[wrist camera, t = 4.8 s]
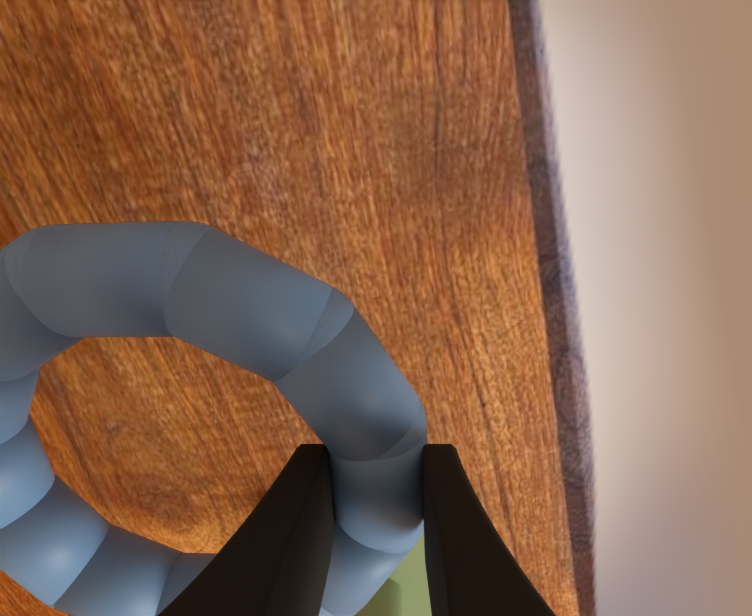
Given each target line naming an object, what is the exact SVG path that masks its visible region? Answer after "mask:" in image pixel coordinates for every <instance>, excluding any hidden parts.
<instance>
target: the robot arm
mask: <svg viewBox="0 0 752 616" xmlns="http://www.w3.org/2000/svg"><path fill="white" fill-rule="evenodd" d="M423 520H424V549H425V565H426V573H427V581H428V589H429V597H430V605H431V613H432V616H556V615H555V614H554V612H553V611H552V610H551V609H550V607H549V606H548V605H547V603H546V602H545V601H544V600H543V598H542V597H541V596H540V594H539V593H538V592H537V590H536V589H535V588H534V586H533V585H532V583H531V582H530V581H529V579H528V578H527V576H526V575H525V574H524V572H523V571H522V569H521V568H520V566H519V565H518V564H517V562H516V561H515V559H514V557H513V556H512V554H511V553H510V551H509V550H508V548H507V547H506V545H505V544H504V542H503V541H502V539H501V537H500V536H499V534H498V532H497V531H496V529H495V528H494V526H493V524H492V522H491V521H490V519H489V517H488V515H487V514H486V512H485V510H484V508H483V507H482V505H481V503H480V501H479V499H478V497H477V496H476V494H475V492H474V490H473V488H472V486H471V484H470V482H469V480H468V477H467V475H466V473H465V471H464V469H463V466H462V464H461V461H460V459H459V456H458V453H457V450H456V448H455V447H454V446H453V445H452V444H425V445H424V447H423ZM334 525H335V511H334V502H333V492H332V483H331V474H330V465H329V455H328V448H327V447H326V446H325V445H324V444H301V445H300V446H299V447H298V448H297V449H296V450H295V452H294V453H293V455H292V456H291V458H290V460H289V461H288V463H287V464H286V466H285V467H284V469H283V470H282V471H281V473H280V474H279V476H278V477H277V479H276V480H275V482H274V483H273V484H272V486H271V487H270V489H269V490H268V491H267V493H266V494H265V495H264V497H263V498H262V499H261V501H260V502H259V503H258V505H257V506H256V507H255V509H254V510H253V511H252V513H251V514H250V515H249V516H248V518H247V519H246V520H245V522H244V523H243V524H242V525H241V526H240V528H239V529H238V530H237V531H236V532H235V534H234V535H233V536H232V537H231V538H230V540H229V541H228V542H227V543H226V544H225V545H224V547H223V548H222V549H221V550H220V551H219V553H218V554H217V555H216V556H215V557H214V558H213V559H212V560H211V562H210V563H209V564H208V565H207V566H206V567H205V568H204V569H203V570H202V571H201V572H200V574H199V575H198V576H197V577H196V578H195V579H194V580H193V581H192V582H191V583H190V584H189V585H188V586H187V587H186V588H185V589H184V590H183V591H182V592H181V593H180V594H179V595H178V596H177V597H176V598H175V599H174V600H173V601H172V602H171V603H170V604H169V605H168V606H167V607H166V608H165V609H164V610H163V611H161V612H160V613H159V614H158V615H157V616H319V613H320V608H321V603H322V599H323V594H324V589H325V584H326V580H327V575H328V570H329V565H330V561H331V553H332V544H333V535H334Z"/></svg>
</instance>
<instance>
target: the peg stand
mask: <svg viewBox="0 0 752 616" xmlns="http://www.w3.org/2000/svg"><path fill="white" fill-rule="evenodd" d="M353 616H432V613H431V605H430V597H429V589H428V581H427V573H426V565H425V549H424V530H423V533H422V535H421V537H420V539H419V540H418V542H417V543H416V545H415V546H414V547H413V548H412V550H411V551H410V552H409V553H408V554H407V556H406V557H405V558H404V559H403V560H402V562H401V563H400V564H399V565H398V566H397V568H396V569H395V570H394V571H393V573H392V574H391V575H390V576H389V577H388V579H387V580H386V581H385V582H384V583H383V585H382V586H381V587H380V588H379V589H378V591H377V592H376V593H375V594H374V596H373V597H372V598H371V599H370V600H369V602H368V603H367V604H366V605H365V606H364V607H363V608H362V609H361V610H360V611H359V612H357V613H356V614H355V615H353Z"/></svg>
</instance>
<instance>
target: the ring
mask: <svg viewBox="0 0 752 616" xmlns="http://www.w3.org/2000/svg"><path fill="white" fill-rule="evenodd" d="M85 337H176V338H178V339H180V340H183V341H185V342H187V343H189V344H191V345H193V346H196V347H198V348H200V349H202V350H204V351H207V352H209V353H211V354H213V355H215V356H217V357H220V358H222V359H224V360H226V361H228V362H230V363H233V364H235V365H237V366H239V367H241V368H244V369H246V370H248V371H250V372H252V373H254V374H257V375H259V376H261V377H263V378H265V379H268V380H270V381H272V382H273V383H274V385H275V386H276V387H277V388H278V389H279V391H280V392H281V393H282V394H283V395H284V397H285V398H286V399H287V400H288V401H289V403H290V404H291V405H292V406H293V407H294V409H295V410H296V411H297V412H298V413H299V415H300V416H301V417H302V418H303V419H304V421H305V422H306V423H307V424H308V426H309V427H310V428H311V429H312V430H313V432H314V433H315V434H316V435H317V436H318V438H319V439H320V440H321V441H322V442H323V444H324V445H325V446H326V447H327V448H328V455H329V465H330V474H331V483H332V492H333V502H334V511H335V525H334V535H333V544H332V553H331V561H330V565H329V570H328V575H327V580H326V584H325V589H324V594H323V599H322V603H321V608H320V613H319V616H353V615H355V614H356V613H357V612H359V611H360V610H361V609H362V608H363V607H364V606H365V605H366V604H367V603H368V602H369V600H370V599H371V598H372V597H373V596H374V594H375V593H376V592H377V591H378V589H379V588H380V587H381V586H382V585H383V583H384V582H385V581H386V580H387V579H388V577H389V576H390V575H391V574H392V573H393V571H394V570H395V569H396V568H397V566H398V565H399V564H400V563H401V562H402V560H403V559H404V558H405V557H406V556H407V554H408V553H409V552H410V551H411V550H412V548H413V547H414V546H415V545H416V543H417V542H418V540H419V539H420V537H421V535H422V533H423V530H424V520H423V447H424V445H425V444H427V419H426V414H425V410H424V407H423V404H422V402H421V400H420V399H419V397H418V395H417V394H416V392H415V391H414V390H413V388H412V387H411V385H410V384H409V383H408V381H407V380H406V378H405V377H404V375H403V374H402V373H401V371H400V370H399V368H398V367H397V366H396V364H395V363H394V361H393V360H392V359H391V357H390V356H389V354H388V353H387V351H386V350H385V349H384V347H383V346H382V344H381V343H380V342H379V340H378V339H377V337H376V336H375V334H374V333H373V332H372V330H371V329H370V327H369V326H368V325H367V323H366V322H365V320H364V319H363V318H362V316H361V315H360V313H359V312H358V310H357V309H356V308H355V306H354V305H353V303H352V302H351V301H350V300H349V299H348V298H347V297H346V295H344V294H343V293H342V292H340V291H339V290H338V289H336V288H334V287H332V286H330V285H328V284H326V283H324V282H322V281H320V280H318V279H316V278H314V277H312V276H310V275H308V274H306V273H304V272H302V271H300V270H298V269H296V268H294V267H292V266H290V265H288V264H286V263H284V262H282V261H280V260H278V259H276V258H274V257H272V256H270V255H268V254H266V253H264V252H262V251H260V250H258V249H256V248H254V247H252V246H250V245H248V244H246V243H244V242H242V241H240V240H238V239H236V238H234V237H232V236H230V235H228V234H226V233H224V232H222V231H220V230H218V229H216V228H214V227H211V226H209V225H206V224H204V223H199V222H193V221H164V222H125V223H87V224H54V225H46V226H42V227H38V228H35V229H32V230H29V231H27V232H25V233H23V234H22V235H20V236H19V237H17V238H15V239H14V240H13V241H12V242H10V243H9V244H8V245H7V246H5V247H4V248H3V249H1V250H0V570H1V571H2V572H4V573H5V574H6V575H8V576H9V577H10V578H11V579H13V580H14V581H15V582H17V583H18V584H19V585H21V586H22V587H23V588H24V589H26V590H27V591H28V592H30V593H31V594H32V595H34V596H35V597H36V598H37V599H39V600H40V601H41V602H43V603H44V604H45V605H47V606H49V607H51V608H53V609H55V610H58V611H61V612H64V613H66V614H69V615H72V616H157V615H158V614H159V613H160V612H161V611H163V610H164V609H165V608H166V607H167V606H168V605H169V604H170V603H171V602H172V601H173V600H174V599H175V598H176V597H177V596H178V595H179V594H180V593H181V592H182V591H183V590H184V589H185V588H186V587H187V586H188V585H189V584H190V583H191V582H192V581H193V580H194V579H195V578H196V577H197V576H198V575H199V574H200V572H201V571H202V570H203V569H204V568H205V567H206V566H207V565H208V564H209V563H210V562H211V560H212V559H213V558H214V557H215V556H216V555H217V554H208V553H183V552H181V551H178V550H175V549H173V548H170V547H168V546H165V545H163V544H160V543H158V542H155V541H153V540H150V539H147V538H145V537H142V536H140V535H137V534H135V533H132V532H130V531H127V530H125V529H122V528H120V527H117V526H114V525H112V524H110V523H109V522H108V521H107V520H106V519H105V518H104V517H103V516H101V515H100V514H99V513H98V512H97V511H96V510H95V509H94V508H92V507H91V506H90V505H89V504H88V503H87V502H86V501H85V500H83V499H82V498H81V497H80V496H79V495H78V494H77V493H76V492H75V491H73V490H72V489H71V488H70V487H69V486H68V485H67V484H66V483H64V482H63V481H62V480H61V479H60V478H59V477H58V476H57V475H55V474H54V472H53V470H52V467H51V465H50V462H49V460H48V458H47V455H46V453H45V450H44V448H43V446H42V443H41V441H40V438H39V436H38V433H37V431H36V429H35V426H34V424H33V421H32V419H31V417H30V414H29V412H30V408H31V404H32V400H33V396H34V392H35V388H36V384H37V380H38V376H39V372H40V368H41V366H42V365H44V364H45V363H47V362H48V361H50V360H51V359H53V358H54V357H56V356H57V355H59V354H60V353H62V352H64V351H65V350H67V349H68V348H70V347H71V346H73V345H74V344H76V343H77V342H79V341H80V340H82V339H83V338H85Z"/></svg>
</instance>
